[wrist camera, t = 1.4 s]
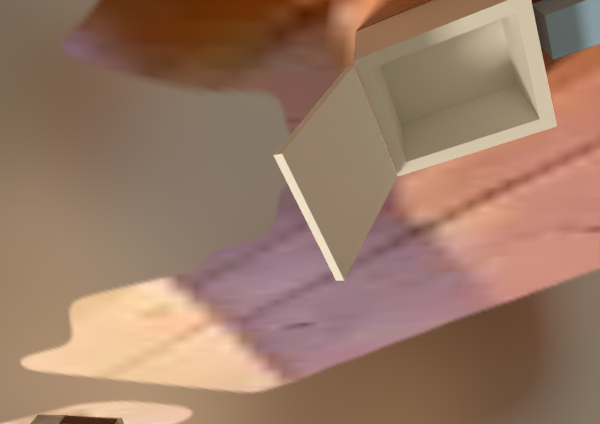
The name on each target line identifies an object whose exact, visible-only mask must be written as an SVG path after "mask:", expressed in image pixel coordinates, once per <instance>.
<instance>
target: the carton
mask: <svg viewBox="0 0 600 424" xmlns="http://www.w3.org/2000/svg"><path fill="white" fill-rule="evenodd" d="M354 62H355V65H356V67H357V70H358V73H359V75H360V78H361V81H362V83H363V86H364V88H365V91H366V94H367V96H368V99H369V102H370V104H371V107H372V109H373V112H374V115H375V117H376V120H377V123H378V125H379V128H380V130H381V133H382V136H383V138H384V141H385V144H386V146H387V149H388V151H389V154H390V157H391V159H392V162H393V165H394V167H395V170H396V172H397V175H398V176H401V175H404V174H407V173H411V172H414V171H417V170H420V169H423V168H426V167H430V166H433V165H436V164H439V163H442V162H445V161H449V160H452V159H455V158H458V157H461V156H464V155H468V154H471V153H474V152H477V151H480V150H484V149H487V148H490V147H493V146H496V145H499V144H503V143H506V142H509V141H512V140H515V139H518V138H522V137H525V136H528V135H531V134H534V133H537V132H541V131H544V130H547V129H550V128H553V127H556V126H557V125H556V120H555V115H554V110H553V105H552V100H551V95H550V90H549V85H548V80H547V75H546V70H545V65H544V60H543V56H542V51H541V46H540V41H539V36H538V31H537V26H536V21H535V16H534V11H533V6H532V1H531V0H432V1H429V2H427V3H424V4H422V5H419V6H417V7H415V8H412V9H410V10H407V11H405V12H402V13H400V14H397V15H395V16H393V17H390V18H388V19H385V20H383V21H380V22H378V23H375V24H373V25H371V26H368V27H366V28H363V29H361V30H358V31H356V35H355V51H354Z"/></svg>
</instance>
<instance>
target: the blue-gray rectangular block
mask: <svg viewBox="0 0 600 424" xmlns="http://www.w3.org/2000/svg"><path fill="white" fill-rule="evenodd" d="M532 6H533V11H534V16H535V21H536V26H537V31H538V36H539V41H540V46H541V48H542V49H543V50H544V51H545V52H546V53H547V54H548V55H549V56H550V57H551V58H552V59H553V60H555V59H557V58H560V57H563V56H566V55H569V54H572V53H575V52H578V51H580V50H583V49H586V48H589V47H592V46H595V45H598V44H600V0H542V1H539V2H536V3H534V4H532Z"/></svg>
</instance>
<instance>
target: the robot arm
mask: <svg viewBox="0 0 600 424" xmlns="http://www.w3.org/2000/svg"><path fill="white" fill-rule="evenodd" d="M31 424H124V423H123V420H122V418H115V417H88V416H68V415H37V416H36V418H35V419H34V420H33V421H32V422H31Z"/></svg>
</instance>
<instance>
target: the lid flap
mask: <svg viewBox="0 0 600 424" xmlns="http://www.w3.org/2000/svg"><path fill="white" fill-rule="evenodd" d="M274 157H275V159H276V161H277V163H278V165H279V167H280V169H281V171H282V173H283V175H284V177H285V179H286V181H287V183H288V185H289V187H290V189H291V191H292V193H293V195H294V197H295V199H296V201H297V203H298V205H299V207H300V209H301V211H302V213H303V215H304V217H305V219H306V221H307V223H308V225H309V227H310V229H311V231H312V233H313V235H314V237H315V239H316V241H317V243H318V245H319V247H320V249H321V251H322V253H323V255H324V257H325V259H326V261H327V263H328V265H329V267H330V269H331V271H332V273H333V275H334V277H335V279H336V281H344V280H345V278H346V276H347V274H348V272H349V270H350V268H351V266H352V265H353V263H354V261H355V259H356V257H357V255H358V253H359V251H360V249H361V247H362V245H363V243H364V241H365V239H366V237H367V235H368V233H369V231H370V229H371V227H372V225H373V223H374V221H375V219H376V217H377V215H378V213H379V211H380V209H381V208H382V206H383V204H384V202H385V200H386V198H387V196H388V194H389V192H390V190H391V188H392V186H393V184H394V182H395V180H396V178H397V175H396V173H395V170H394V168H393V165H392V162H391V160H390V157H389V154H388V152H387V149H386V147H385V144H384V141H383V139H382V136H381V134H380V131H379V128H378V126H377V123H376V120H375V118H374V115H373V113H372V110H371V107H370V105H369V102H368V100H367V97H366V94H365V92H364V89H363V86H362V84H361V81H360V79H359V76H358V73H357V71H356V68H355V66H354V65H353V66H349V67H347V68H346V69H345V70H344V71H343V72H342V74H341V75H340V76H339V77H338V78H337V80H336V81H335V82H334V83H333V84H332V86H331V87H330V88H329V89H328V90H327V92H326V93H325V94H324V95H323V96H322V98H321V99H320V100H319V101H318V102H317V104H316V105H315V106H314V107H313V108H312V110H311V111H310V112H309V113H308V114H307V116H306V117H305V118H304V119H303V120H302V122H301V123H300V124H299V125H298V126H297V128H296V129H295V130H294V131H293V132H292V134H291V135H290V136H289V137H288V138H287V140H286V141H285V142H284V143H283V144H282V146H281V147H280V148H279V149H278V150H277V152H276V153H275V154H274Z"/></svg>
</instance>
